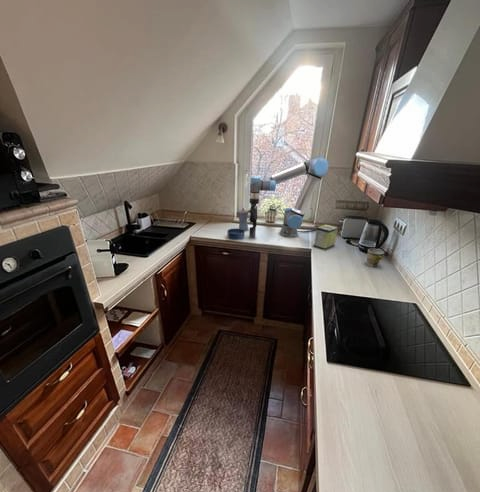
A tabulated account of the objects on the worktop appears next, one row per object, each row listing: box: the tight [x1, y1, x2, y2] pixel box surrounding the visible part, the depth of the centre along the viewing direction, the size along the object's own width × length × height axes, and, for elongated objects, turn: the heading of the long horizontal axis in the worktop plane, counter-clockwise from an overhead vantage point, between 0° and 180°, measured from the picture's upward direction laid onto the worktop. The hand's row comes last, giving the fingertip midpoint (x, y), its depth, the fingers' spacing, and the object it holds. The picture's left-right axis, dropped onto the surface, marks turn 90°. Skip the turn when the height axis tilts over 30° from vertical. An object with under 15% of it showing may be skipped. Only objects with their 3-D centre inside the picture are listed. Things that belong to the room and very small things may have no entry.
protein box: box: [313, 223, 339, 251], centre depth 201 cm, size 10×16×16 cm
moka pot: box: [236, 208, 250, 232], centre depth 229 cm, size 10×15×20 cm, turn 115°
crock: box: [248, 226, 257, 239], centre depth 214 cm, size 5×5×9 cm
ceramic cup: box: [365, 248, 385, 268], centre depth 172 cm, size 13×10×10 cm
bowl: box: [226, 228, 246, 241], centre depth 214 cm, size 14×14×6 cm
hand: (252, 224), depth 210 cm, fingers open, 13 cm apart
